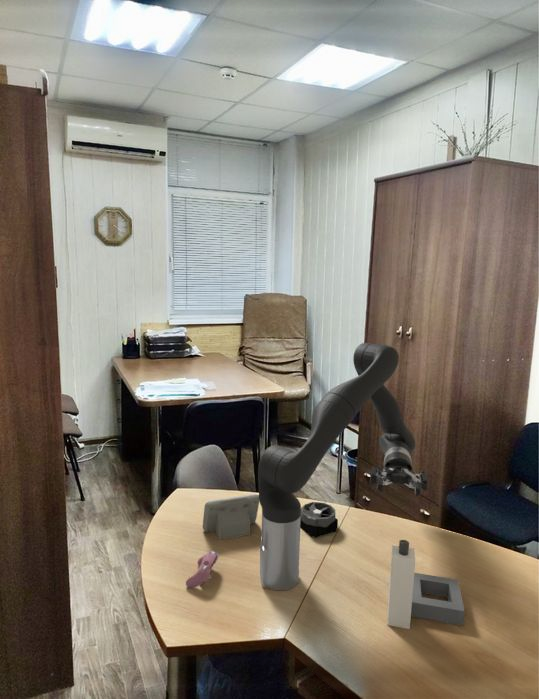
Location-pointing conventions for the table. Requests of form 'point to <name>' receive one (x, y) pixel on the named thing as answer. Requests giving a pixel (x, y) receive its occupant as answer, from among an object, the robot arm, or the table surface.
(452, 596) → the socket
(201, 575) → the pink curved piece
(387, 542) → the table surface
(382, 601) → the table surface
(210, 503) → the digital clock
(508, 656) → the table surface
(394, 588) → the plug
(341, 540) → the table surface
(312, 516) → the cpu cooler
